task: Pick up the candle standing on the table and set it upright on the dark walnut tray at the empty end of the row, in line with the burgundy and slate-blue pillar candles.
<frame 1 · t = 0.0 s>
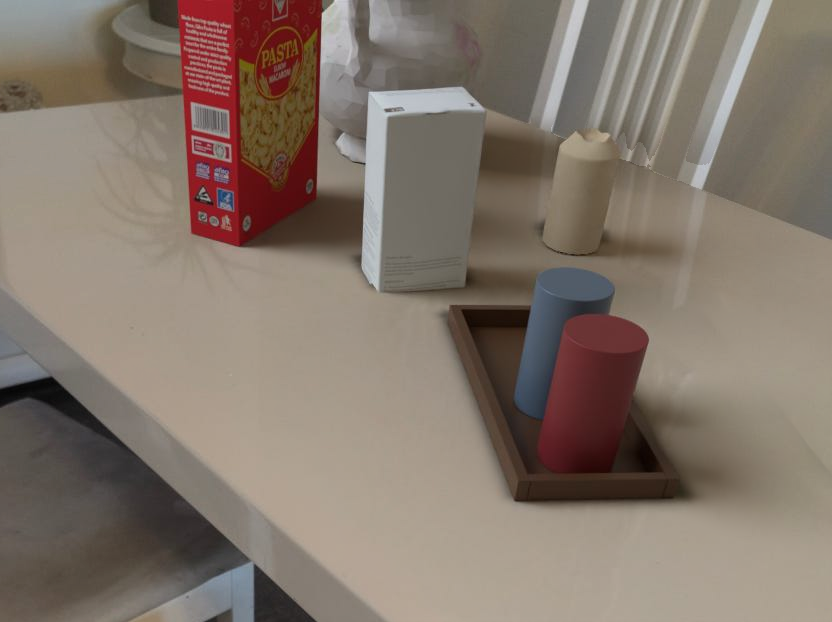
burgundy candle: (574, 457, 66), point 1 cm above the table, touching tray
cosmetic box: (410, 285, 86), on the table
tray: (545, 407, 72), on the table
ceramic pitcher: (383, 154, 110), on the table
slate candle: (549, 403, 71), point 1 cm above the table, touching tray
food packaging: (256, 217, 95), on the table
candle: (569, 246, 94), on the table
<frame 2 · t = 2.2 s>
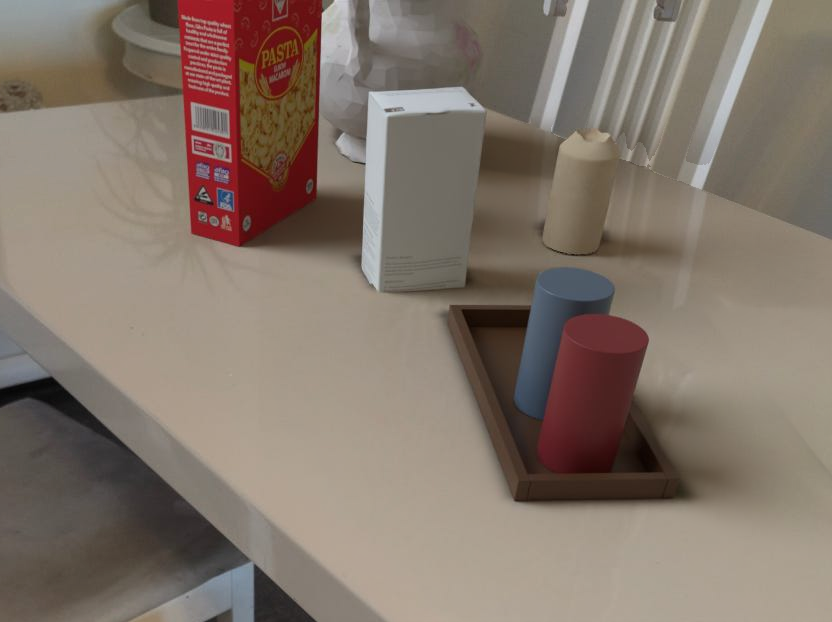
hand: (609, 17, 80), 19 cm above the table, tool pointing down, fingers open, 8 cm apart
nothing on the table moved.
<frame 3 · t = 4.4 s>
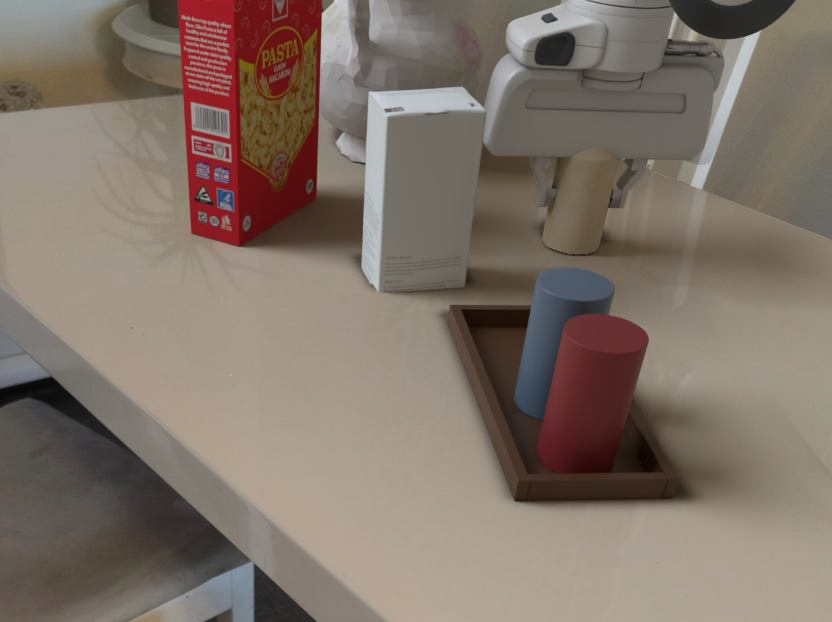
hand: (578, 205, 92), 4 cm above the table, tool pointing down, fingers closed on candle, 5 cm apart
candle: (569, 246, 94), on the table, touching gripper
everything else where it was.
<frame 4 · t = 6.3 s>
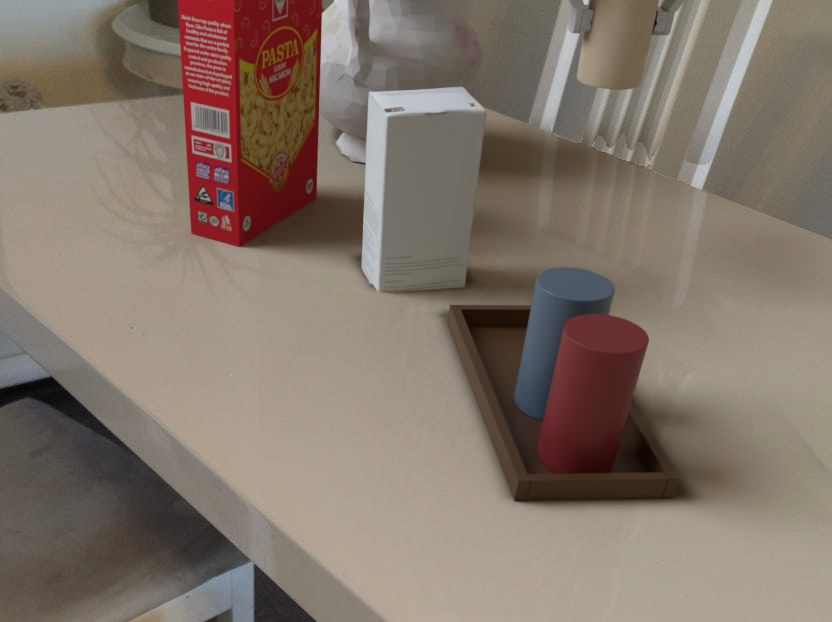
hand: (617, 32, 81), 18 cm above the table, tool pointing down, fingers closed on candle, 5 cm apart
candle: (607, 84, 84), point 14 cm above the table, touching gripper
everything else where it was.
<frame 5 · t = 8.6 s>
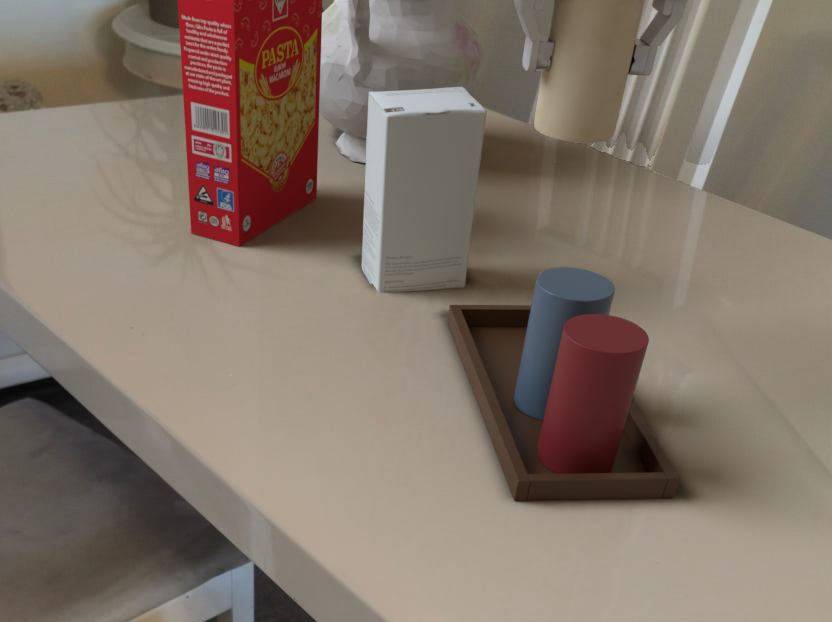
hand: (585, 71, 64), 20 cm above the table, tool pointing down, fingers closed on candle, 5 cm apart
candle: (572, 134, 66), point 16 cm above the table, touching gripper
everything else where it was.
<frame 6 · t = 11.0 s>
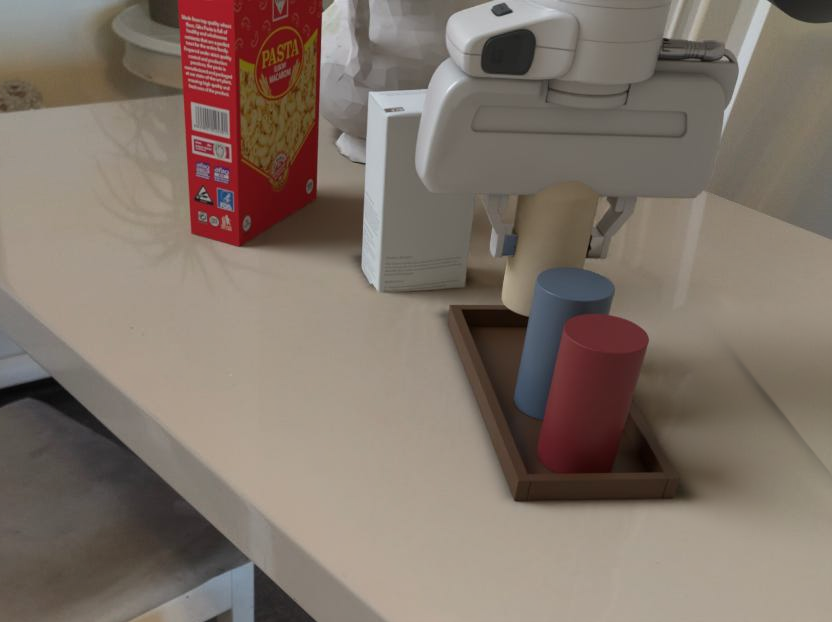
hand: (546, 255, 70), 9 cm above the table, tool pointing down, fingers closed on candle, 5 cm apart
candle: (536, 305, 73), point 5 cm above the table, touching gripper
everything else where it was.
when the fingers open (4 cm above the table, at t = 12.7 s): candle stays where it is, resting on tray.
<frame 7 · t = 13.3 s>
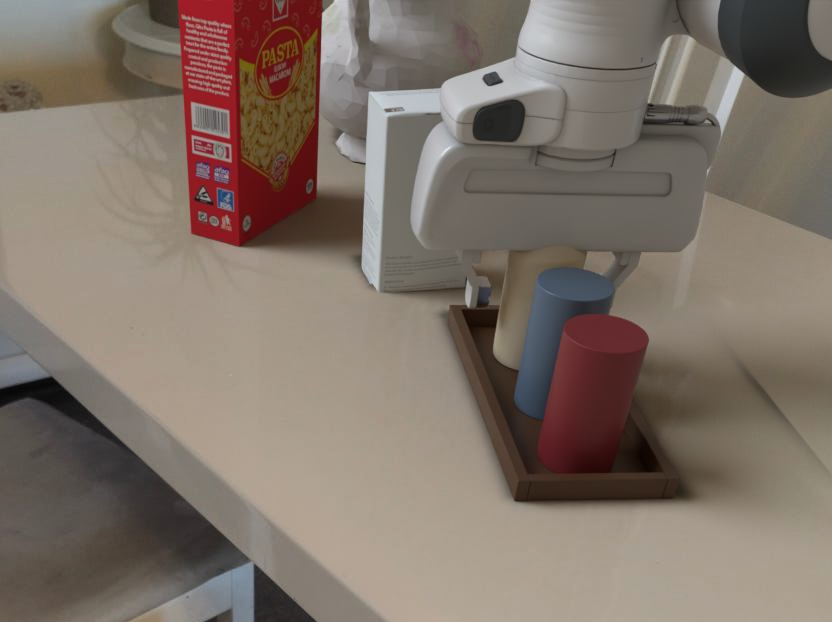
hand: (537, 305, 73), 5 cm above the table, tool pointing down, fingers open, 8 cm apart
candle: (526, 358, 76), resting on tray
everything else where it was.
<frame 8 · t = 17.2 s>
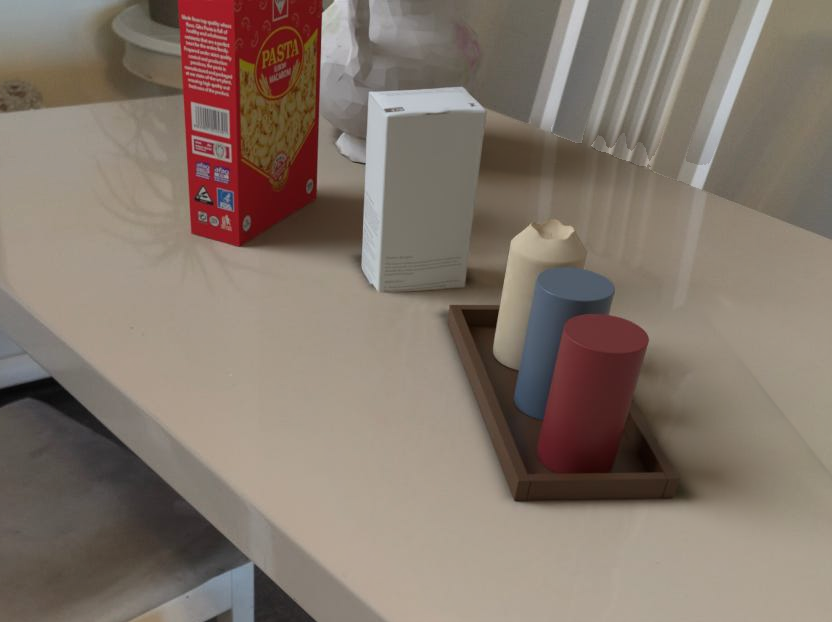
nothing on the table moved.
at the end: candle 0.1 cm from the target spot in the tray, point 0.4 cm above the tray's base; candle tilted 0°; slate candle moved 0.0 cm from its start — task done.
